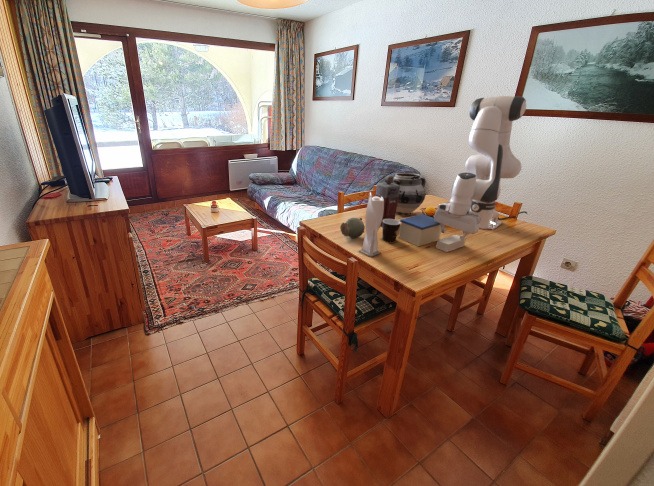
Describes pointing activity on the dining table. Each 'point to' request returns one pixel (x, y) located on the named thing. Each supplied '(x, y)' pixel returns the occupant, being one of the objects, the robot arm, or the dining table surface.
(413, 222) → the container
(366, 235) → the skyscraper
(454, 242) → the case
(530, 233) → the dining table surface
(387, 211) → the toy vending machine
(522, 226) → the dining table surface
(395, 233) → the coffee mug
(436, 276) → the dining table surface
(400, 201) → the ceramic pot
